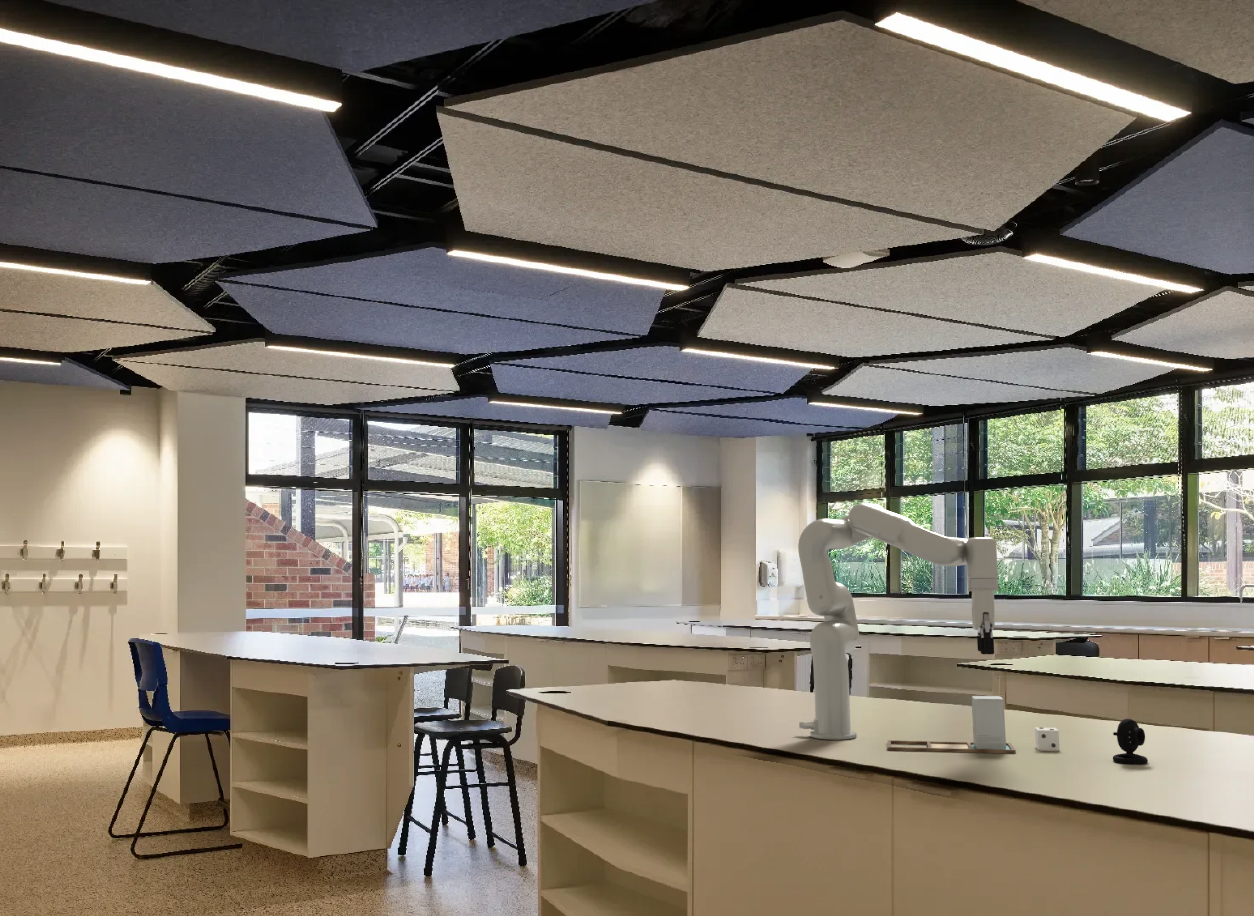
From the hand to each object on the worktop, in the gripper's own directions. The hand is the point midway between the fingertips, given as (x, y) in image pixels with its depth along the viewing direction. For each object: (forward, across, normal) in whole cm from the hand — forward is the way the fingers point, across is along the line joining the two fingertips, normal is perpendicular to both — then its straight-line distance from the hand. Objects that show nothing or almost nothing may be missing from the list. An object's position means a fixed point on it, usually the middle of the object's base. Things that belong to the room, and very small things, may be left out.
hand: (985, 652), depth 277 cm
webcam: (+24, +14, +30) cm, 41 cm away
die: (+24, -3, +14) cm, 28 cm away
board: (+24, 0, -10) cm, 26 cm away
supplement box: (+24, 0, 0) cm, 24 cm away
